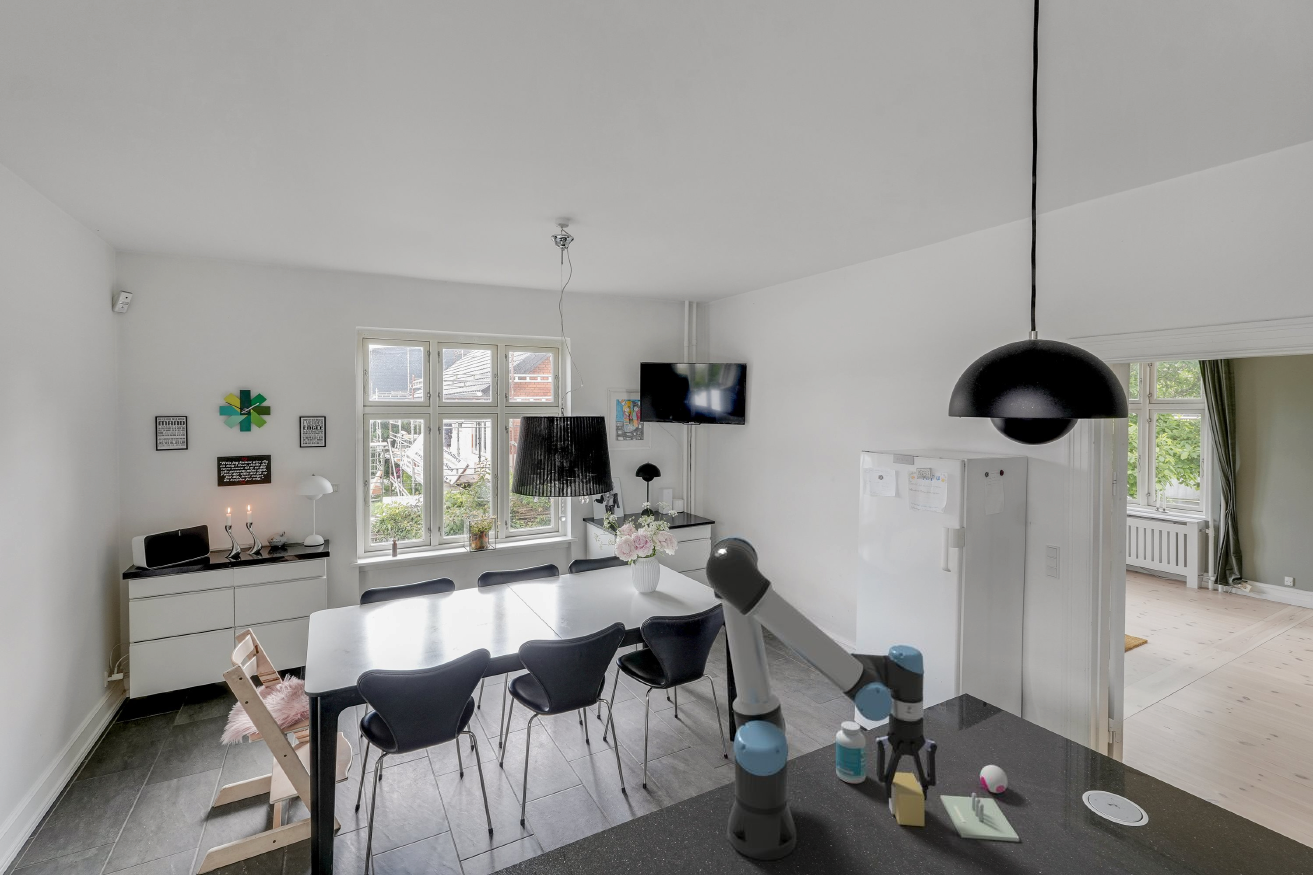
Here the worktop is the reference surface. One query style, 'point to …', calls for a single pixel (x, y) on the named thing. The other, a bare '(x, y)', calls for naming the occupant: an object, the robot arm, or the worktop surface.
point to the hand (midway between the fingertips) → (905, 811)
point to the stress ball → (993, 779)
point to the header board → (978, 818)
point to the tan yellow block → (908, 800)
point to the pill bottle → (850, 753)
